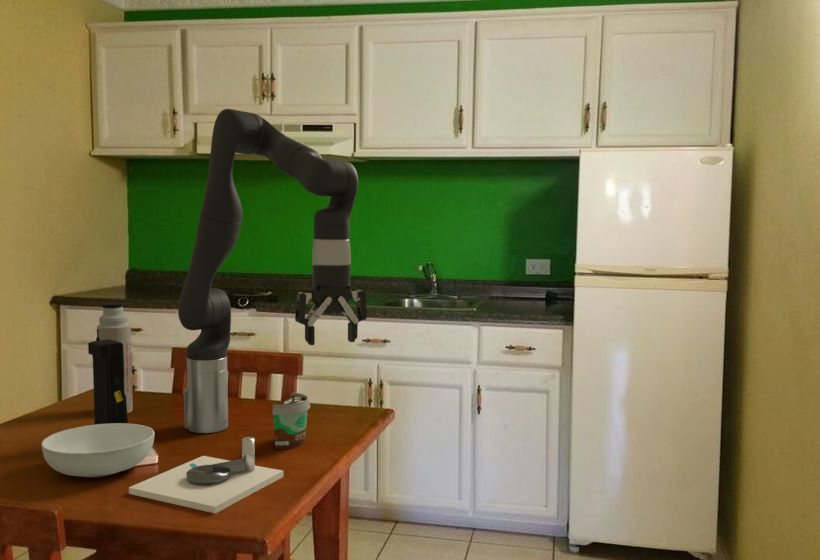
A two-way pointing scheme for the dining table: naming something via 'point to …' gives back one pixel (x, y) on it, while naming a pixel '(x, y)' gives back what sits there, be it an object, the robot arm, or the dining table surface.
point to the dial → (224, 466)
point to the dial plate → (204, 486)
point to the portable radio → (108, 381)
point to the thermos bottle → (120, 331)
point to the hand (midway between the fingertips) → (331, 343)
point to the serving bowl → (98, 449)
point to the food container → (291, 421)
